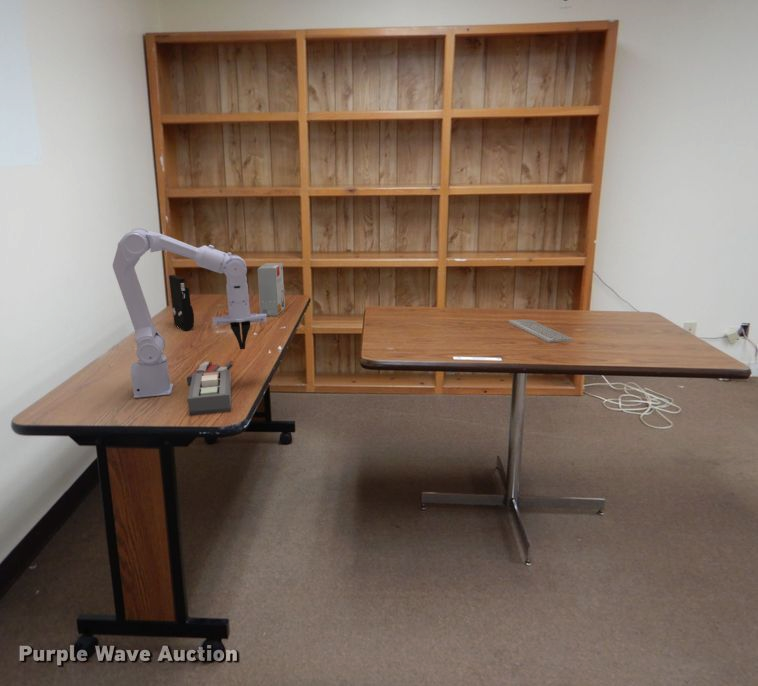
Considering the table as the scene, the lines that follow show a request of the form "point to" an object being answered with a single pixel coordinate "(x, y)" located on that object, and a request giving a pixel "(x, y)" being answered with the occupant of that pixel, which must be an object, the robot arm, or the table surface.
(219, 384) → the terracotta key
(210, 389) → the sage key
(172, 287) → the handheld gaming console
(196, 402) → the keypad housing
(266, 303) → the hard drive box
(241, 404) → the table surface
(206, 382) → the offwhite key
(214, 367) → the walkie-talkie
